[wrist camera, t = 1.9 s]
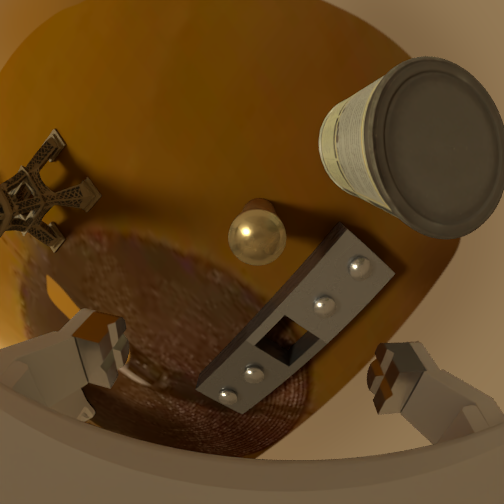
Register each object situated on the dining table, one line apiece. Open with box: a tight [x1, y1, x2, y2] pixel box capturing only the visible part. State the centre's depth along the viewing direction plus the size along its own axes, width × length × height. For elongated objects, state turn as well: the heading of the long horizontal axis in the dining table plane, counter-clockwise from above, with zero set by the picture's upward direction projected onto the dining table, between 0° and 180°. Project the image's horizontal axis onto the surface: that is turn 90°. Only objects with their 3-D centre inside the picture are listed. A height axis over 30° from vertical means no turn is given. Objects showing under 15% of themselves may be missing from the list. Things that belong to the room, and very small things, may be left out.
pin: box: [228, 198, 286, 265], centre depth 24 cm, size 4×4×8 cm
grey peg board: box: [195, 222, 395, 414], centre depth 30 cm, size 25×7×4 cm, turn 142°
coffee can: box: [319, 56, 504, 239], centre depth 19 cm, size 10×10×14 cm
